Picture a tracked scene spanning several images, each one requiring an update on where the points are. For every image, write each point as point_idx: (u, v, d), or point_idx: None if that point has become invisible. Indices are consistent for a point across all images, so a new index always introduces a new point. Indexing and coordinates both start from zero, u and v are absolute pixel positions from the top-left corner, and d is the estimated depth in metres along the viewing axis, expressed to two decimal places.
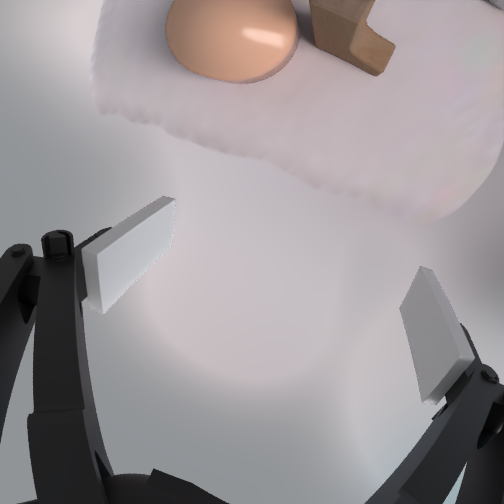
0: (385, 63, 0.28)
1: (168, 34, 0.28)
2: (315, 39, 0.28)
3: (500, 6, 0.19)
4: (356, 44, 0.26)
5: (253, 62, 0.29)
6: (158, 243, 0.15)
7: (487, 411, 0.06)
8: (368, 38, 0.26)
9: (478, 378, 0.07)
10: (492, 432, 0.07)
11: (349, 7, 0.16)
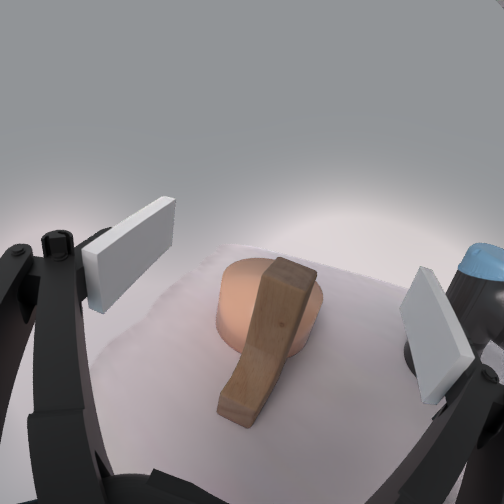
0: (231, 397, 0.30)
1: (266, 259, 0.51)
2: None
3: None
4: (249, 359, 0.33)
5: (232, 290, 0.42)
6: (158, 243, 0.15)
7: (487, 411, 0.06)
8: (258, 380, 0.32)
9: (478, 378, 0.07)
10: (492, 432, 0.07)
11: (276, 270, 0.29)
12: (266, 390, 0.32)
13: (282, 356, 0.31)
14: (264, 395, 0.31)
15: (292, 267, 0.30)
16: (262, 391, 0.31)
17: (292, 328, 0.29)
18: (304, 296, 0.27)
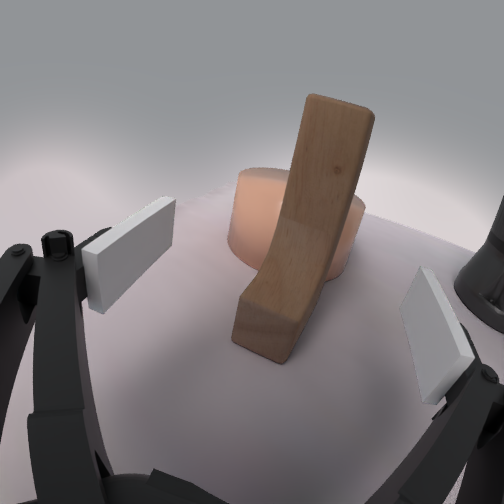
0: (258, 301, 0.20)
1: (289, 171, 0.41)
2: None
3: None
4: (284, 244, 0.22)
5: (253, 184, 0.32)
6: (158, 243, 0.15)
7: (487, 411, 0.06)
8: (299, 276, 0.22)
9: (478, 378, 0.07)
10: (492, 432, 0.07)
11: None
12: (312, 293, 0.21)
13: (336, 231, 0.21)
14: (309, 300, 0.21)
15: None
16: (306, 294, 0.21)
17: (353, 175, 0.19)
18: (369, 119, 0.17)
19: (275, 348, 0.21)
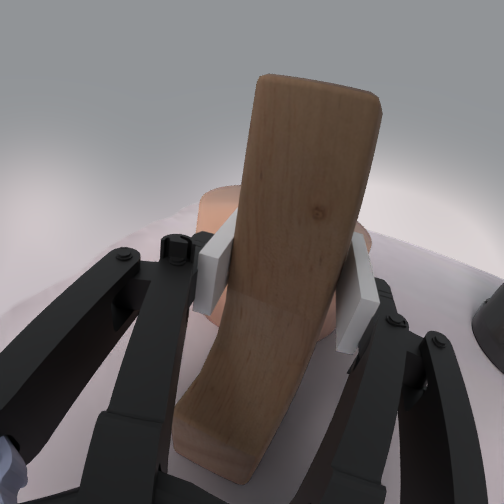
0: (196, 423, 0.12)
1: None
2: None
3: None
4: (238, 330, 0.14)
5: (215, 215, 0.23)
6: None
7: (403, 358, 0.08)
8: (261, 380, 0.13)
9: (384, 326, 0.09)
10: (418, 388, 0.09)
11: None
12: (281, 404, 0.13)
13: (320, 315, 0.12)
14: (277, 416, 0.12)
15: None
16: (272, 407, 0.13)
17: (348, 222, 0.10)
18: (375, 113, 0.09)
19: (230, 473, 0.12)
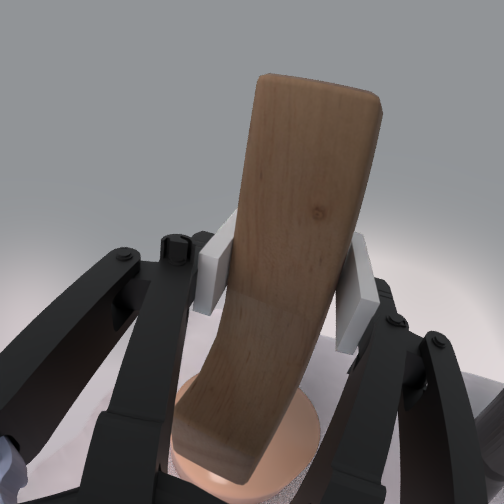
0: (195, 424, 0.12)
1: None
2: None
3: None
4: (237, 330, 0.14)
5: None
6: None
7: (403, 357, 0.08)
8: (261, 380, 0.13)
9: (384, 326, 0.09)
10: (417, 388, 0.09)
11: None
12: (281, 405, 0.13)
13: (320, 315, 0.12)
14: (276, 417, 0.12)
15: None
16: (271, 407, 0.13)
17: (348, 222, 0.10)
18: (376, 113, 0.09)
19: (229, 473, 0.12)
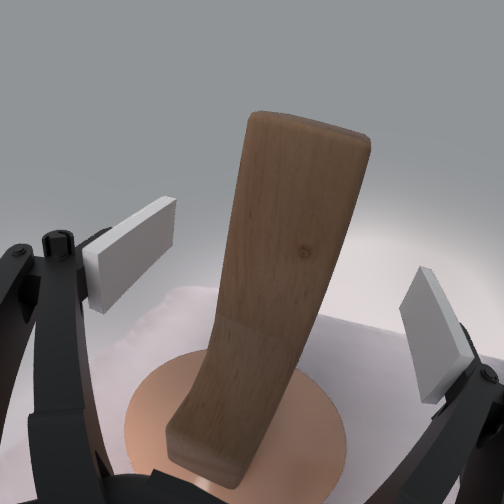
0: (189, 438, 0.12)
1: None
2: None
3: None
4: (226, 351, 0.15)
5: (142, 452, 0.15)
6: (158, 243, 0.15)
7: (487, 411, 0.06)
8: (248, 397, 0.14)
9: (477, 378, 0.07)
10: (492, 432, 0.07)
11: (283, 114, 0.11)
12: (267, 419, 0.14)
13: (303, 340, 0.13)
14: (264, 430, 0.13)
15: (318, 121, 0.12)
16: (259, 421, 0.13)
17: (332, 261, 0.11)
18: (365, 159, 0.09)
19: (221, 480, 0.13)
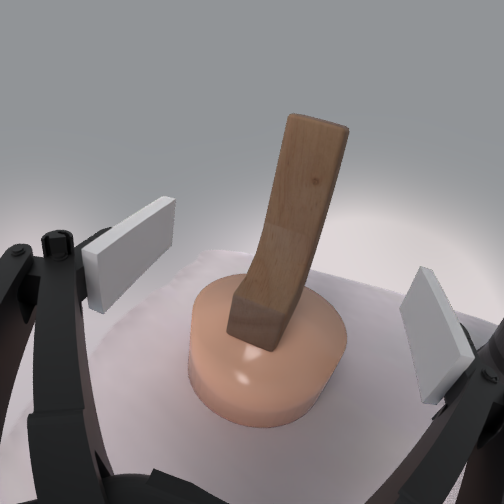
0: (249, 297, 0.23)
1: None
2: None
3: None
4: (270, 246, 0.26)
5: (206, 330, 0.26)
6: (158, 243, 0.15)
7: (487, 411, 0.06)
8: (284, 275, 0.25)
9: (478, 378, 0.07)
10: (492, 432, 0.07)
11: (304, 115, 0.22)
12: (296, 288, 0.25)
13: (315, 234, 0.24)
14: (294, 295, 0.24)
15: None
16: (290, 290, 0.25)
17: (329, 185, 0.22)
18: (343, 136, 0.20)
19: (266, 338, 0.24)
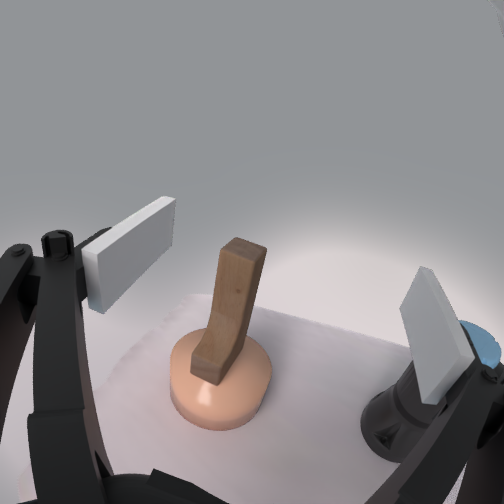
0: (200, 356, 0.38)
1: None
2: None
3: None
4: (215, 323, 0.40)
5: (178, 370, 0.40)
6: (158, 243, 0.15)
7: (487, 411, 0.06)
8: (223, 341, 0.39)
9: (478, 378, 0.07)
10: (492, 432, 0.07)
11: (232, 246, 0.36)
12: (230, 350, 0.39)
13: (241, 319, 0.38)
14: (228, 354, 0.39)
15: (245, 244, 0.37)
16: (226, 351, 0.39)
17: (247, 294, 0.37)
18: (253, 266, 0.35)
19: (212, 378, 0.38)
